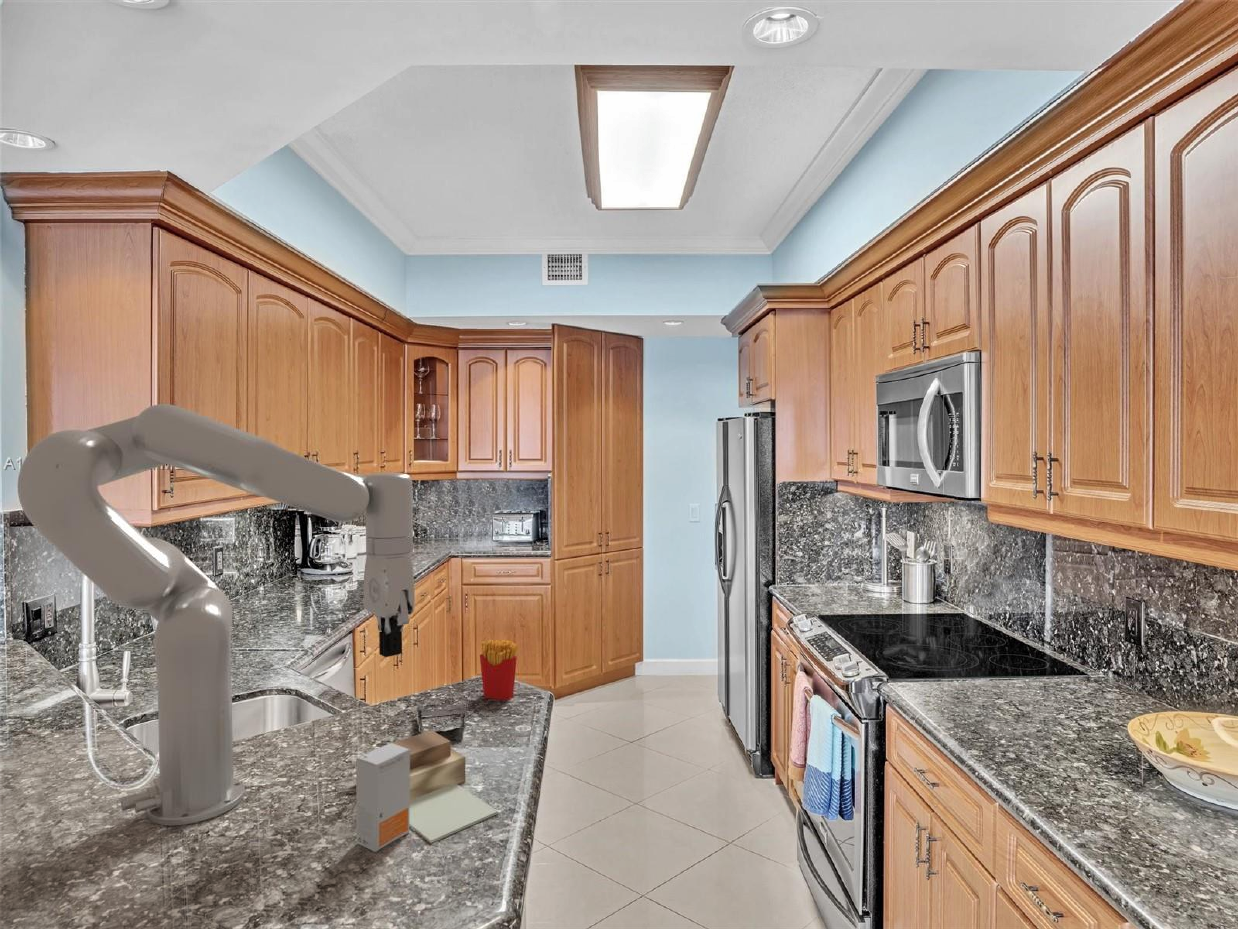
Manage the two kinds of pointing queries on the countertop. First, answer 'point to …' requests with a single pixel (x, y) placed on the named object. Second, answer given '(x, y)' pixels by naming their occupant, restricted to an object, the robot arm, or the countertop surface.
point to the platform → (437, 775)
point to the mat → (446, 812)
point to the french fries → (498, 669)
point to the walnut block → (426, 748)
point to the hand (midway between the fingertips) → (390, 654)
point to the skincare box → (382, 796)
